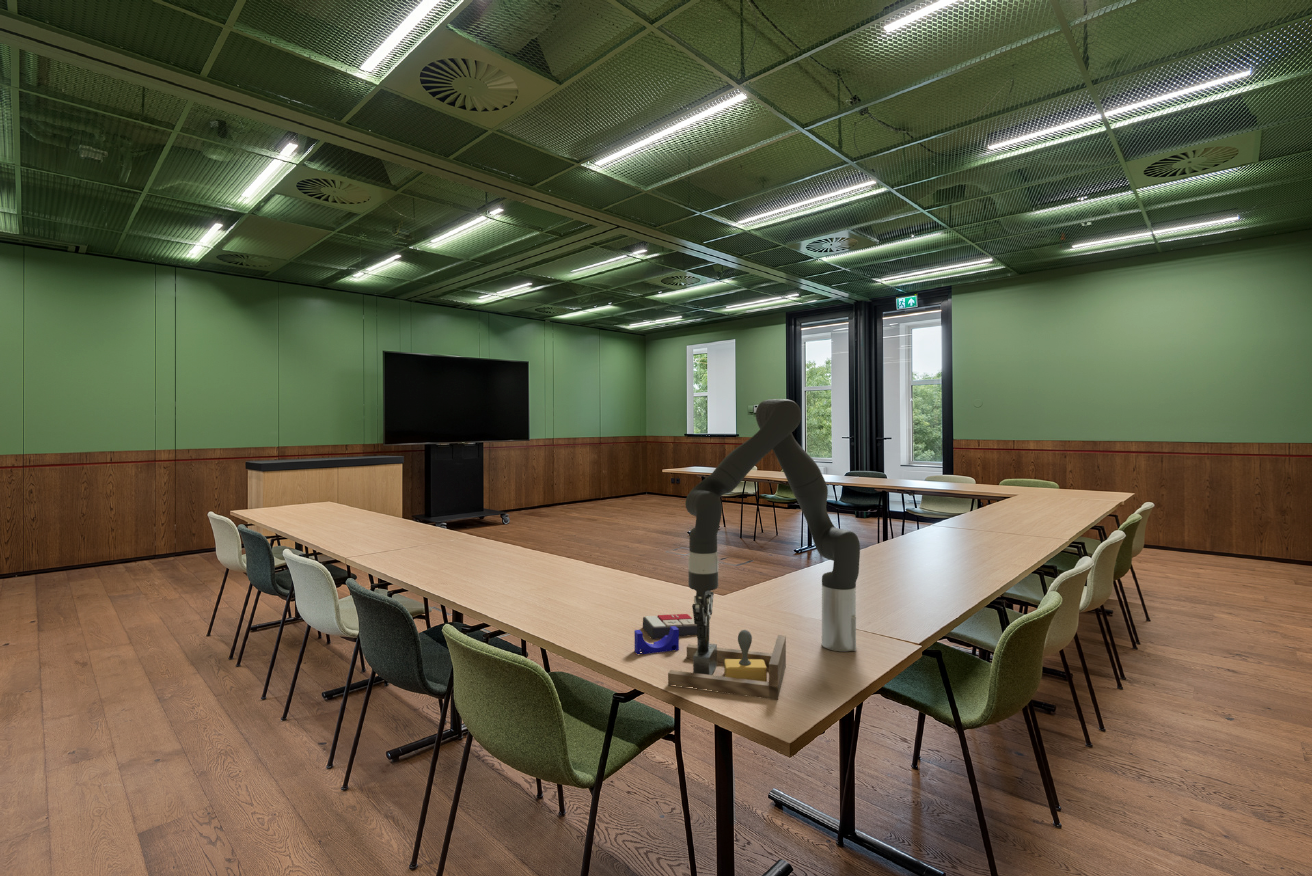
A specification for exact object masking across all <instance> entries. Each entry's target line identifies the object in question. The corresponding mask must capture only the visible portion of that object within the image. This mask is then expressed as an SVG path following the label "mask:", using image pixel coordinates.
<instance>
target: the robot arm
mask: <svg viewBox="0 0 1312 876" xmlns="http://www.w3.org/2000/svg"><path fill="white" fill-rule="evenodd" d="M755 420H756V424H757V426H758V428H759V430H758V431H757V432H756V433H755V434H754V435H752V436H751V437H750V438H749V439H748V440H746V441H745V442H743V443H742V444H740V445H739V446H738V447H736V448H734V449H733V450H732V451H731V452H729V453H728V454H727V455H726V456H725V457H724V458H723V460H722V461H721V462H720V463H719V464H718V465H717V466H716V468H715V469H714V470H713V471H712V473H710V474H709V475H708V476H707V477H705V478H704V479H703V480H701V481H700V482H699V483H697V484H696V485H695V486H694V487H693V488H692V489H691V491H690V492H689V493H688V494H687V496H686V498H685V504H684V505H685V509H686V511H687V512H688V513H689V514H690V515H692V516H694V517H695V526H694V527H693V528H692V529H690V531H689V543H688V544H689V547H688V548H689V550H688V551H689V553H688V554H689V555H688V561H687V562H688V573H687V574H688V580H687V581H688V584H687V585H688V588H690V589H691V590H693V591H695V595H694V596H693V603H692V606H691V609H692V614H693V619H694V624H696V625H697V635H696V639H699V640H705V639H706V624H707V615H709V621H710V620H711V616H712V614H713V602H714V596H715V594H714V590H716V589H718V588H719V557H718V533H719V529H720V524H721V520H722V513H723V505H722V501H721V497H722V496H723V495H727V494H730V493H732V492H733V491H735V489H736V488H737V487H738V486H739V484H741V482H742V481H743V479H745V478H746V476H747V475H748V474H749V472H751V470H752V469H753V468H754V467H755V466H756V465H757V464H758V463H759V462H760V461H761V460H762V459H763V458H764V457H765V456H767V454H769V452H771V451H773V453H774V455H775V457H776V458H777V461H778V464H779V465H780V467H781V469H782V472H783V474H784V476H785V478H786V481H787V483H788V485H789V488H790V489H791V491H792V493H793V496H794V497H795V499H796V501H797V504H798V505H799V507H800V510H801V512H802V514H803V517H804V519H805V520H806V523H807V525H808V529H809V532H810V534H811V538H812V540H813V543H814V546H815V548H816V551H817V552H818V554H819V555H820V556H821V557H823V558H824V559H826V560H829V561H832V562H833V565H832V571H828V572H825V573H823V574H822V576H821V646H822V647H823V648H825V649H828V650H831V651H836V652H856V651H857V632H856V631H857V611H856V610H857V606H856V605H857V602H856V599H857V595H856V592H857V591H856V590H857V580H858V577H859V573H860V556H861V546H860V540H859V537H858V536H857V534H856V533H855V532H853V531H851V530H847V529H843V528H838V527H836V526H835V525H834V524H833V522H832V520H831V518H830V515H829V514H828V510H827V502H828V493H829V491H828V485H827V482H826V481H825V478H824V475H823V473H822V472H821V471H822V470H821V469H820V468H819V466H818V464H817V463H816V461H815V460H814V459H813V458H812V457H811V456H810V455H809V453H808V452H806V451H805V449H804V448H803V447H802V446H801V445H800V444H799V443H798V441H797V440H796V439H795V436H794V435H793V432H794V431H795V430H796V429H797V428H798V426H799V425H800V423H801V420H802V410H801V408H800V406H799V405H798V404H797V402H795V401H794V400H791V399H787V398H785V399H784V398H770V399H764V400H763V401H761V402H759V404H758V405H757V407H756V410H755ZM699 618H701V619H702V620H699Z"/></svg>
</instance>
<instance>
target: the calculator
mask: <svg viewBox="0 0 1312 876" xmlns="http://www.w3.org/2000/svg"><path fill="white" fill-rule="evenodd" d="M670 626H676V627H677V628H678V629H679V636H680V637H688V636H687V635H690V636H697V625H696V624H694V618H692V616H690V614H688V613H677V614H675V613H673V614H658V615H647V616H646V615H645V616H643V617H642V629H643V630H644V632H645V631H646V632H645V633H646V635H648V636H649V637H651V638H650V639H651V640H661V639H662V638H663V637H664V636H666V635H668V634H669V632H670Z"/></svg>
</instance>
